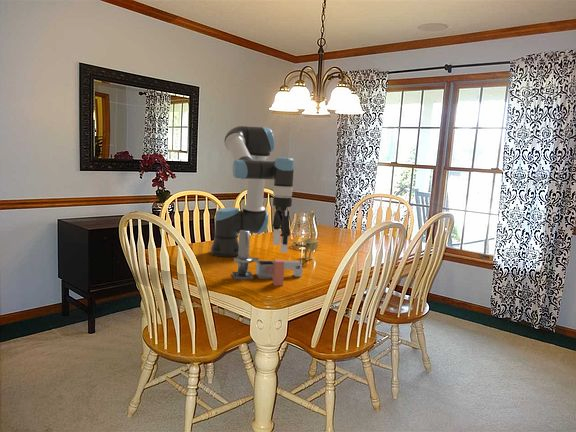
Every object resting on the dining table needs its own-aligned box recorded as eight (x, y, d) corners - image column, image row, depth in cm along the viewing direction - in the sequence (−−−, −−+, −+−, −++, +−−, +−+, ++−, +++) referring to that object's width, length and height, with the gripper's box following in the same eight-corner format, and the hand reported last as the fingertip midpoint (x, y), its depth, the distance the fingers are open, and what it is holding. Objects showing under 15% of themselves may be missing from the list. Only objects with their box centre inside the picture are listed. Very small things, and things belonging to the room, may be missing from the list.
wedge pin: (272, 282, 188) (273, 259, 186) (280, 282, 188) (282, 259, 187) (274, 285, 184) (275, 261, 183) (282, 285, 185) (284, 261, 183)
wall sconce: (302, 255, 236) (305, 208, 232) (320, 258, 233) (323, 210, 229) (295, 262, 222) (298, 212, 218) (313, 264, 220) (317, 214, 216)
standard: (232, 274, 196) (233, 229, 193) (255, 273, 199) (257, 229, 196) (234, 279, 189) (236, 232, 186) (258, 279, 191) (261, 233, 188)
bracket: (255, 273, 199) (256, 259, 198) (298, 273, 204) (299, 259, 202) (258, 278, 192) (259, 264, 191) (303, 278, 197) (304, 263, 196)
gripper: (300, 200, 169) (296, 255, 173) (284, 193, 193) (281, 241, 197) (280, 200, 168) (277, 255, 171) (267, 192, 191) (265, 241, 195)
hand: (279, 248), depth 184 cm, fingers open, 13 cm apart
